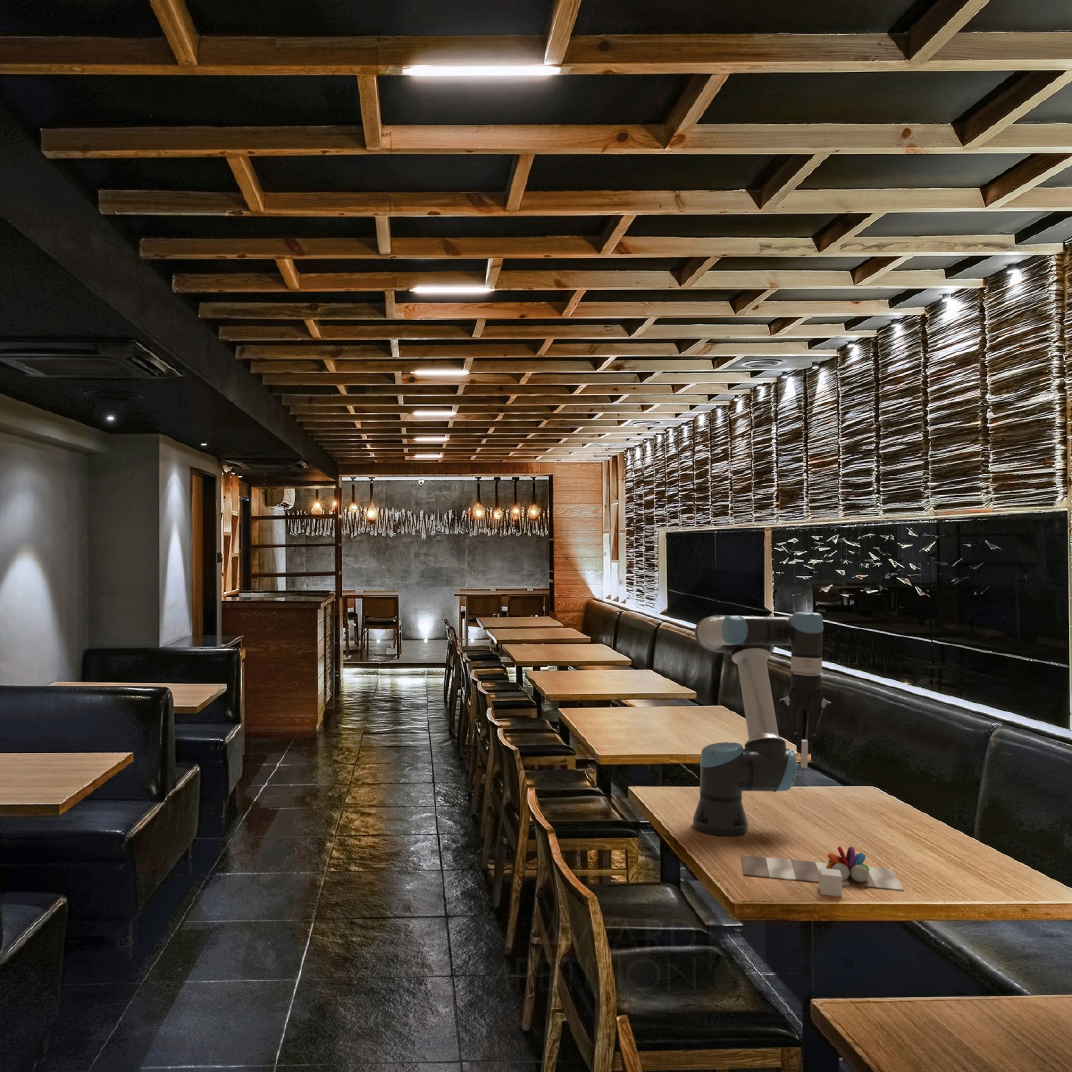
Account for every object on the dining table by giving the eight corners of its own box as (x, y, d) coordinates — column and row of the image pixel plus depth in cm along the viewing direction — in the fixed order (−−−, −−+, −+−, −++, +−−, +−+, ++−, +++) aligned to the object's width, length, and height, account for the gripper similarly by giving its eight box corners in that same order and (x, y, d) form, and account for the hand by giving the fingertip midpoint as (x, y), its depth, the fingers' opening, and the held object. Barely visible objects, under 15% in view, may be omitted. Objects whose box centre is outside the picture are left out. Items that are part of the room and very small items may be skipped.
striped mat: (743, 875, 204) (743, 874, 204) (741, 856, 218) (741, 855, 218) (904, 890, 197) (904, 889, 197) (891, 870, 210) (891, 868, 210)
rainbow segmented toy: (823, 869, 209) (824, 839, 209) (865, 872, 207) (865, 842, 207) (829, 881, 200) (830, 850, 201) (872, 885, 199) (873, 854, 199)
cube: (820, 894, 193) (821, 874, 194) (818, 887, 198) (819, 867, 198) (841, 896, 192) (842, 876, 193) (839, 889, 197) (839, 869, 197)
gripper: (780, 673, 214) (777, 767, 214) (834, 676, 211) (832, 772, 211) (778, 669, 222) (776, 760, 221) (831, 672, 218) (829, 765, 218)
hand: (803, 766), depth 216 cm, fingers closed
